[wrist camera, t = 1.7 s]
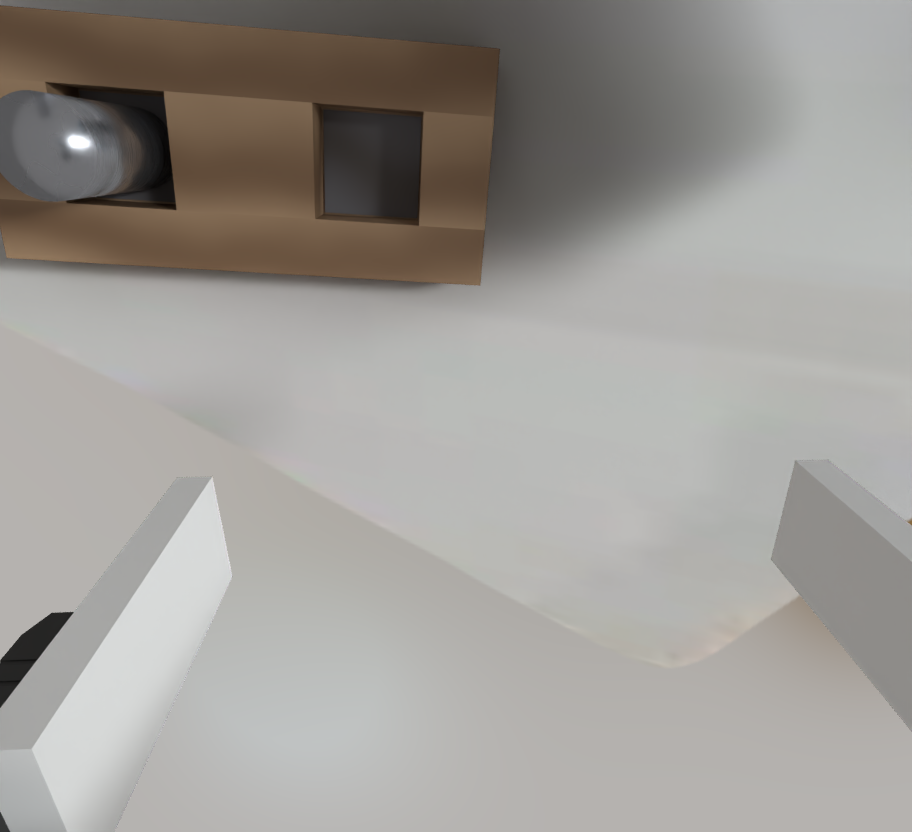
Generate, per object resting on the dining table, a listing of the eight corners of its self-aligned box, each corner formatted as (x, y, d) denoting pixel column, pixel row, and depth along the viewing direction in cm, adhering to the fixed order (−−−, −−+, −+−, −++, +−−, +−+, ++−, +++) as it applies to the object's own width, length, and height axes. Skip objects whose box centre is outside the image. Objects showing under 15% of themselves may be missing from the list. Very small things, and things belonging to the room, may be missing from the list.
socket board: (-2, 16, 27) (-50, 1, 24) (492, 58, 28) (499, 48, 26) (44, 248, 31) (6, 258, 28) (475, 274, 32) (480, 285, 30)
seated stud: (92, 103, 28) (-26, 85, 21) (172, 109, 28) (85, 94, 21) (104, 187, 29) (-1, 198, 22) (181, 192, 30) (101, 204, 22)
